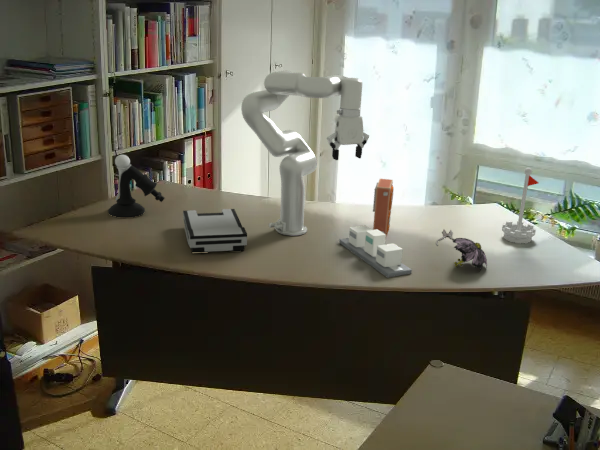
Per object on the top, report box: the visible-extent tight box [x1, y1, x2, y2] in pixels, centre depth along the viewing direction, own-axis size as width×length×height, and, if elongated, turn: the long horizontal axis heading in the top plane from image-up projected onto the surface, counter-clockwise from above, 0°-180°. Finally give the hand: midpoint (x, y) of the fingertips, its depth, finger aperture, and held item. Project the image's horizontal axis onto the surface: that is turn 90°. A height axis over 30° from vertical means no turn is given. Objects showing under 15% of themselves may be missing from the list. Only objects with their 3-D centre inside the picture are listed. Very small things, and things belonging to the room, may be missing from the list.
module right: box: [376, 243, 404, 267], centre depth 247 cm, size 7×6×6 cm
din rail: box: [347, 237, 403, 272], centre depth 257 cm, size 4×34×1 cm, turn 26°
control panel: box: [372, 178, 394, 237], centre depth 278 cm, size 21×7×15 cm
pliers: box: [435, 228, 460, 247], centre depth 279 cm, size 10×1×20 cm
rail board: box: [338, 237, 413, 279], centre depth 257 cm, size 10×35×2 cm, turn 26°
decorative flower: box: [452, 237, 488, 272], centre depth 251 cm, size 15×12×15 cm
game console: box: [182, 208, 248, 253], centre depth 267 cm, size 21×32×8 cm, turn 14°
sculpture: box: [107, 154, 165, 218], centre depth 290 cm, size 15×24×25 cm, turn 94°
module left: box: [348, 225, 373, 247], centre depth 264 cm, size 7×6×6 cm
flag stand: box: [501, 167, 539, 244], centre depth 278 cm, size 13×13×30 cm
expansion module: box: [364, 229, 387, 257], centre depth 256 cm, size 5×6×8 cm
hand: (346, 158), depth 257 cm, fingers open, 9 cm apart
